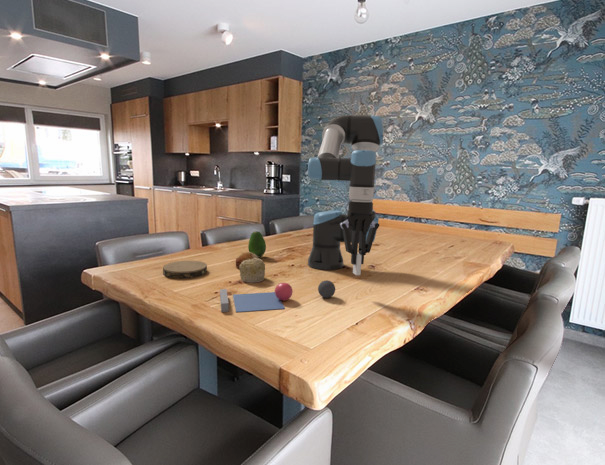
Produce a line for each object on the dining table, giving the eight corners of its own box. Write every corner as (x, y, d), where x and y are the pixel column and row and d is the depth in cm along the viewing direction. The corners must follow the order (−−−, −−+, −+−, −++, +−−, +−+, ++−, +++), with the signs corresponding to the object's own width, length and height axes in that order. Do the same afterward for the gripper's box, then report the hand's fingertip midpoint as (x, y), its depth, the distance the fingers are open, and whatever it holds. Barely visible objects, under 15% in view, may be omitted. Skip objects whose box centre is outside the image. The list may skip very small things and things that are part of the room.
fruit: (264, 259, 157) (265, 233, 155) (246, 259, 158) (247, 232, 155) (266, 255, 165) (267, 230, 163) (249, 254, 165) (249, 229, 163)
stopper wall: (226, 296, 111) (226, 289, 110) (228, 311, 99) (228, 303, 99) (220, 297, 110) (219, 289, 110) (221, 311, 99) (221, 303, 98)
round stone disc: (194, 265, 146) (194, 258, 145) (214, 274, 135) (214, 266, 134) (156, 272, 135) (155, 264, 134) (174, 282, 124) (174, 274, 123)
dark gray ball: (331, 293, 116) (332, 277, 115) (337, 299, 111) (338, 283, 110) (315, 294, 115) (316, 278, 114) (320, 300, 110) (321, 283, 109)
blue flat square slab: (276, 292, 116) (276, 292, 116) (284, 308, 102) (284, 308, 102) (232, 295, 112) (232, 294, 112) (236, 312, 99) (236, 311, 99)
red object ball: (290, 296, 113) (290, 279, 112) (294, 302, 107) (294, 285, 107) (273, 297, 111) (273, 280, 110) (276, 303, 106) (276, 286, 105)
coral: (253, 284, 123) (253, 263, 122) (234, 279, 128) (234, 259, 127) (270, 278, 130) (270, 258, 129) (251, 273, 136) (251, 254, 134)
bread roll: (260, 273, 149) (262, 255, 151) (255, 269, 139) (257, 250, 141) (237, 272, 150) (239, 254, 152) (231, 268, 140) (233, 248, 142)
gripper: (345, 201, 105) (341, 278, 109) (385, 202, 108) (380, 276, 112) (337, 199, 112) (333, 271, 116) (374, 200, 115) (370, 270, 119)
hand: (356, 274), depth 114 cm, fingers closed
